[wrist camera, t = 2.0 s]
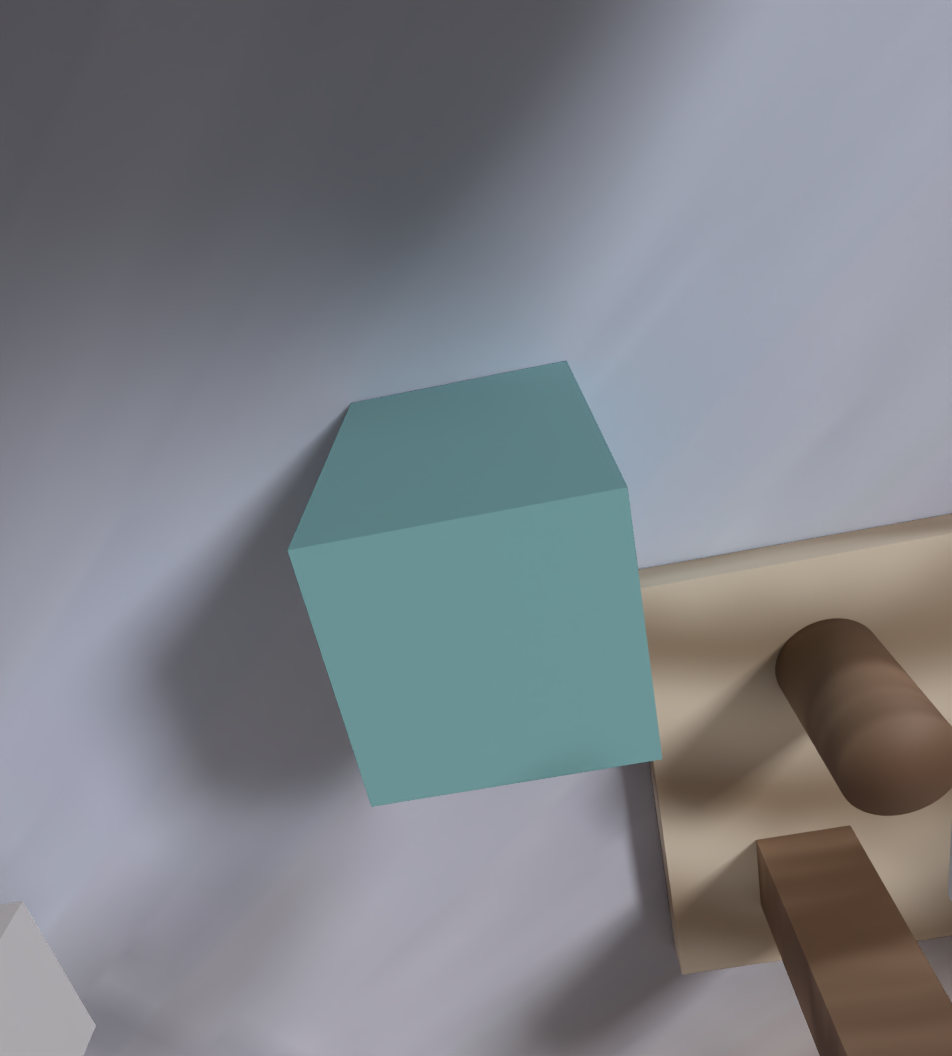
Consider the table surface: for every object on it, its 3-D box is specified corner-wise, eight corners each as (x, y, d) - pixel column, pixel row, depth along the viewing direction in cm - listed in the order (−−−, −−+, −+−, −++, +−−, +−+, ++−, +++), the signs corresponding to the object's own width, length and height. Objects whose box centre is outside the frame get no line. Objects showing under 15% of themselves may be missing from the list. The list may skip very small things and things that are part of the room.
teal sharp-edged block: (351, 402, 24) (287, 550, 15) (566, 360, 24) (627, 486, 15) (401, 589, 27) (371, 806, 18) (595, 554, 26) (662, 758, 18)
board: (623, 572, 27) (722, 834, 17) (1003, 504, 26) (1352, 736, 16) (675, 948, 34) (764, 1287, 24) (970, 904, 33) (1193, 1237, 23)
